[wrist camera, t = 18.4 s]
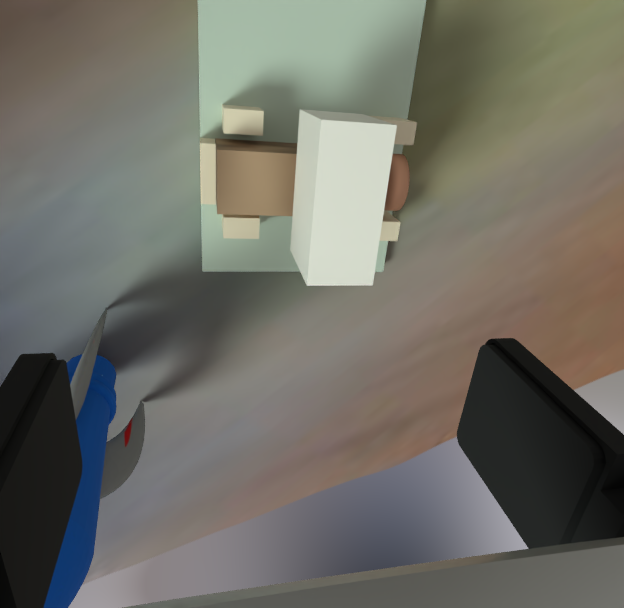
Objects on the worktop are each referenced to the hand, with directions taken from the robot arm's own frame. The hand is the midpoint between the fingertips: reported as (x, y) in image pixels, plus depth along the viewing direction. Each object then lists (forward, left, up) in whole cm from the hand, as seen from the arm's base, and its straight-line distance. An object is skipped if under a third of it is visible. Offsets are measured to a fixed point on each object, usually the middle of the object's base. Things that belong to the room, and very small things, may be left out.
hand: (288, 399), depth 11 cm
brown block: (+6, 0, -27) cm, 28 cm away
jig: (+6, +4, -28) cm, 29 cm away
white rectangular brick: (+6, 0, -22) cm, 23 cm away
